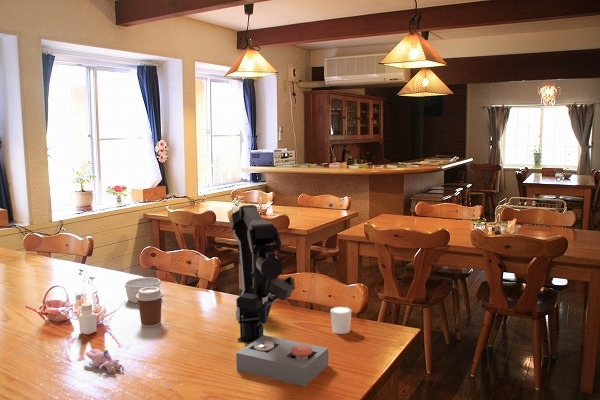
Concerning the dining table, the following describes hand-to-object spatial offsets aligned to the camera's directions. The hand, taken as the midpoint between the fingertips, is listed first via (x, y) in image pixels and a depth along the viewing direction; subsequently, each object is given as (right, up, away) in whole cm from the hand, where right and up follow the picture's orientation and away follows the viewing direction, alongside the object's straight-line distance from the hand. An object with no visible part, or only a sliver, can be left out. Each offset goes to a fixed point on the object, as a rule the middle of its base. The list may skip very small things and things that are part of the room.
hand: (264, 323), depth 152 cm
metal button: (0, -12, +1) cm, 12 cm away
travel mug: (-8, -6, +45) cm, 46 cm away
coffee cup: (-41, -8, +34) cm, 53 cm away
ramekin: (-51, -5, +61) cm, 79 cm away
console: (+5, -12, -1) cm, 13 cm away
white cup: (+23, -8, +25) cm, 35 cm away
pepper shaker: (-59, -9, +27) cm, 66 cm away
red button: (+11, -11, -4) cm, 16 cm away
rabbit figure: (-45, -13, +1) cm, 47 cm away
